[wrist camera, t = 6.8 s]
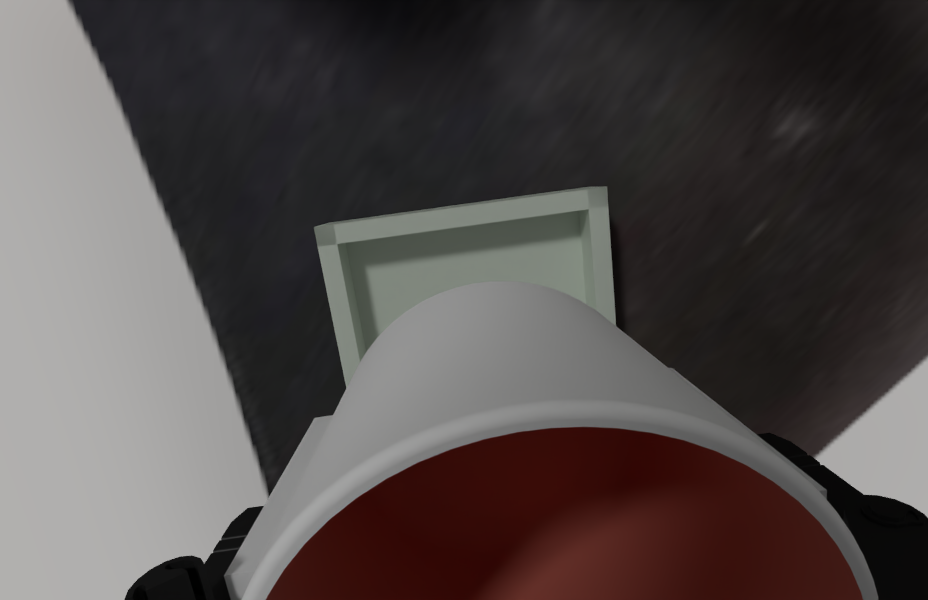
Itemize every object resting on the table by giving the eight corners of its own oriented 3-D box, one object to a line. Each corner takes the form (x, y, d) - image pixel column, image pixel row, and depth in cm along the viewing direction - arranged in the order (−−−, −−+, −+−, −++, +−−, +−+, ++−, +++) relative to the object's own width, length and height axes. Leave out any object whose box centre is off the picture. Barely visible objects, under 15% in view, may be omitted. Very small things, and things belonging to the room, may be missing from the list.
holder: (328, 222, 28) (313, 227, 25) (588, 186, 28) (606, 186, 25) (402, 599, 34) (398, 641, 31) (617, 569, 34) (634, 607, 31)
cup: (637, 261, 16) (937, 374, 6) (635, 527, 18) (854, 914, 8) (332, 285, 16) (150, 439, 6) (368, 550, 18) (276, 974, 8)
